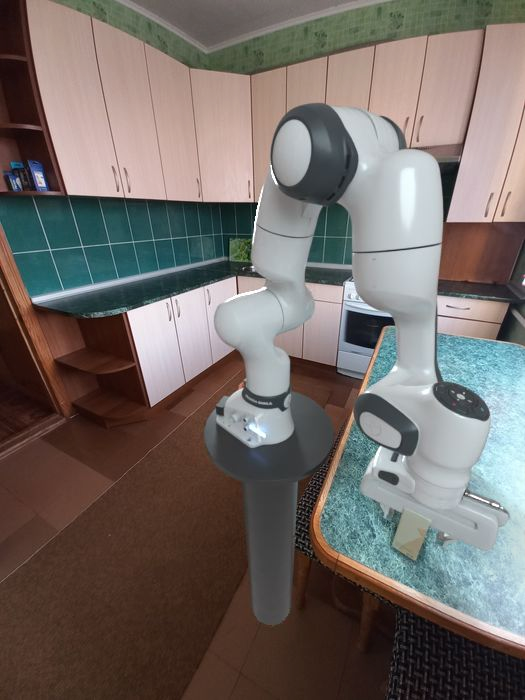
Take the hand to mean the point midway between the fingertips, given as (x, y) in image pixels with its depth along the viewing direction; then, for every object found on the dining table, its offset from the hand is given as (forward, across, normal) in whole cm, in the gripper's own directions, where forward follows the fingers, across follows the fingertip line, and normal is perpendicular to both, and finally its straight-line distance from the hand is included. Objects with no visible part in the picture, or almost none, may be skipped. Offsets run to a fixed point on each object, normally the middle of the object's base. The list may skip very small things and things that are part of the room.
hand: (413, 529), depth 53 cm
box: (+5, 0, 0) cm, 5 cm away
